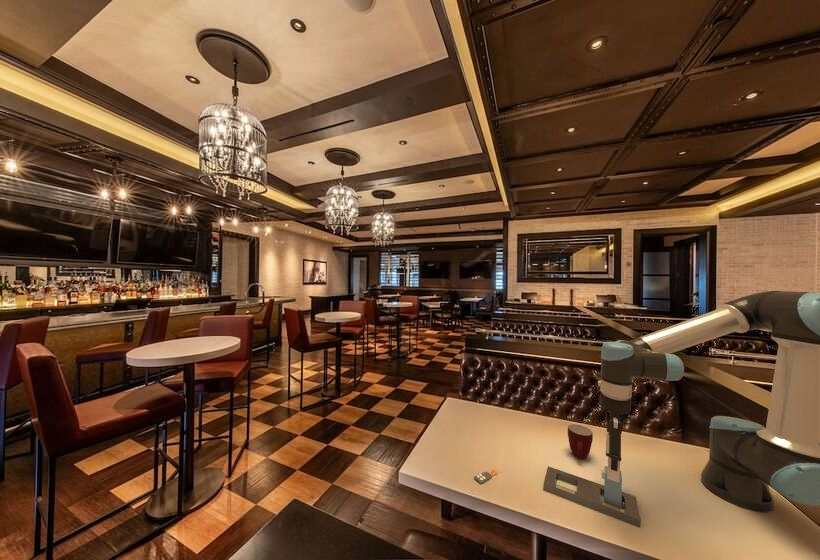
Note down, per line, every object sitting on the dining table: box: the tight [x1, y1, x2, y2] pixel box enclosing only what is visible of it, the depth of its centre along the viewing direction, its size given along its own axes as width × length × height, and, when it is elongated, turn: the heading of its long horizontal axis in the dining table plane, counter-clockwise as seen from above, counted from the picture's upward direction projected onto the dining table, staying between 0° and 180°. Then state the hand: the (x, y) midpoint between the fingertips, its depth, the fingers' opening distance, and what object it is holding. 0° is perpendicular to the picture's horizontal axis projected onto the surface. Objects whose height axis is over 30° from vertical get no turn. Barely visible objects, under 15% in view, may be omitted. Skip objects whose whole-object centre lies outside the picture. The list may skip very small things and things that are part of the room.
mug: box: [567, 423, 594, 460], centre depth 106 cm, size 10×8×10 cm
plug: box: [601, 465, 623, 508], centre depth 84 cm, size 5×4×10 cm
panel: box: [543, 465, 642, 528], centre depth 87 cm, size 24×10×2 cm, turn 57°
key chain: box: [473, 469, 502, 485], centre depth 96 cm, size 13×4×2 cm, turn 123°
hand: (611, 466), depth 84 cm, fingers open, 13 cm apart
